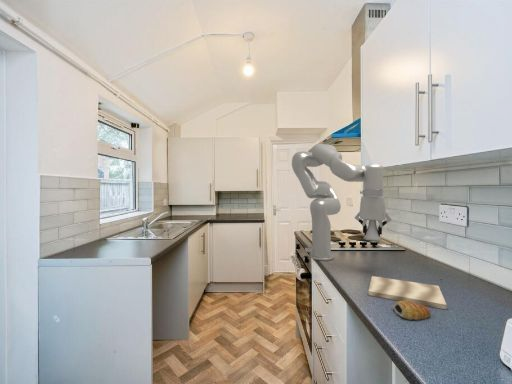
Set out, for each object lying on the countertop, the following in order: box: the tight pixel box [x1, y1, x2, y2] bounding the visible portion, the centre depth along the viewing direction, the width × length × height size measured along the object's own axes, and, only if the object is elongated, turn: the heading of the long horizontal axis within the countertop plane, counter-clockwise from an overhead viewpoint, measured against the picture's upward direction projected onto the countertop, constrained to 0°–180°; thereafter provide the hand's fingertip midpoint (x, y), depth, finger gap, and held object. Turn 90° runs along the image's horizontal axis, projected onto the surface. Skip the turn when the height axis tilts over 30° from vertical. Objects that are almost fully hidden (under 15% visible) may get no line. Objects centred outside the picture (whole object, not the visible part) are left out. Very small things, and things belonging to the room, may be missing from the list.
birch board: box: [368, 275, 448, 311], centre depth 89 cm, size 22×16×2 cm
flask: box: [362, 220, 382, 242], centre depth 108 cm, size 7×7×10 cm
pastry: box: [392, 301, 431, 321], centre depth 74 cm, size 9×7×4 cm
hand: (372, 234), depth 108 cm, fingers closed on flask, 4 cm apart
